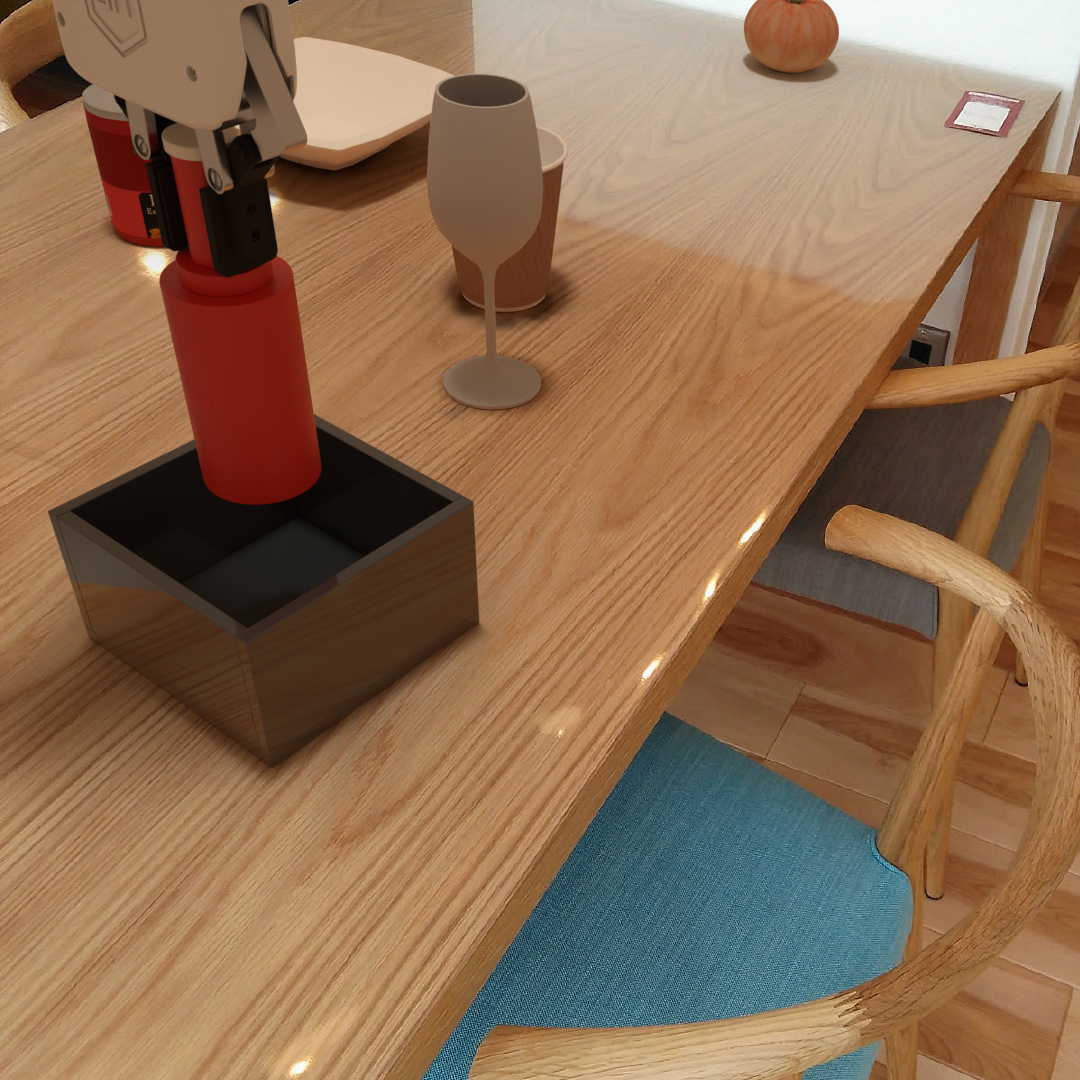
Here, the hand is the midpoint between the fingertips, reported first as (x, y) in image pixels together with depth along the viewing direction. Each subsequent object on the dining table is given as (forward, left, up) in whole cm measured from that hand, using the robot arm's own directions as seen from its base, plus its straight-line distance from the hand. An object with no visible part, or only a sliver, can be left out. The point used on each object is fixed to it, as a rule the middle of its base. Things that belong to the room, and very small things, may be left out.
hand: (220, 249), depth 60 cm
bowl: (-50, +48, -23) cm, 73 cm away
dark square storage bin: (0, 0, -23) cm, 23 cm away
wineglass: (-10, +28, -23) cm, 38 cm away
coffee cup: (-19, +39, -23) cm, 49 cm away
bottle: (0, 0, -12) cm, 12 cm away
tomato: (-33, +102, -23) cm, 109 cm away
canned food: (-47, +27, -23) cm, 59 cm away
